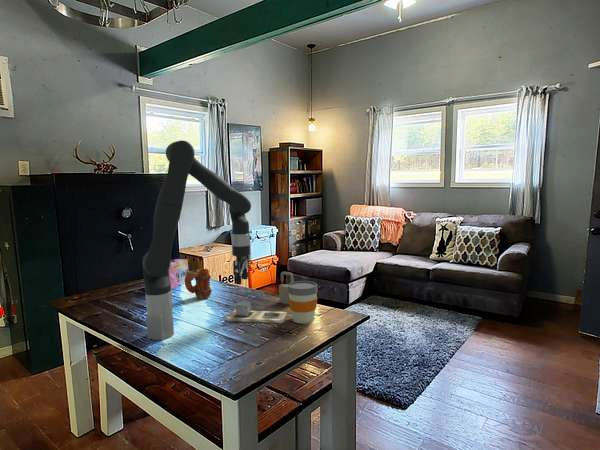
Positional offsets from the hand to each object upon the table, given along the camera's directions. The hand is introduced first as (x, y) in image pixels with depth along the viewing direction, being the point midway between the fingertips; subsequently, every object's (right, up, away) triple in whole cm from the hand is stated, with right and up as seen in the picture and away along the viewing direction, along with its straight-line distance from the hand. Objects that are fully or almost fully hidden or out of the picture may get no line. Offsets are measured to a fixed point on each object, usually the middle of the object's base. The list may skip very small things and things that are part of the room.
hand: (242, 281), depth 162 cm
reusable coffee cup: (+26, -16, -3) cm, 31 cm away
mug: (-26, -13, +30) cm, 42 cm away
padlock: (+19, -13, +20) cm, 30 cm away
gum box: (-47, -11, +55) cm, 73 cm away
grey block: (0, -16, +2) cm, 16 cm away
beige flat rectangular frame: (+6, -16, +1) cm, 17 cm away
